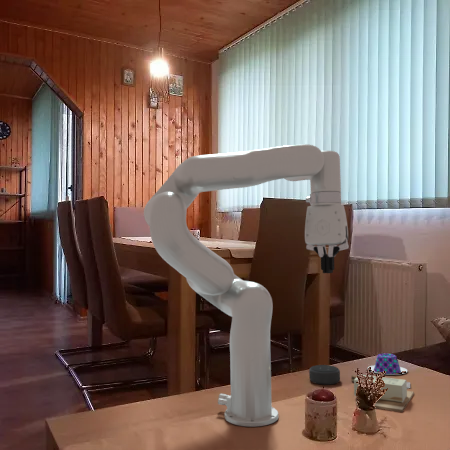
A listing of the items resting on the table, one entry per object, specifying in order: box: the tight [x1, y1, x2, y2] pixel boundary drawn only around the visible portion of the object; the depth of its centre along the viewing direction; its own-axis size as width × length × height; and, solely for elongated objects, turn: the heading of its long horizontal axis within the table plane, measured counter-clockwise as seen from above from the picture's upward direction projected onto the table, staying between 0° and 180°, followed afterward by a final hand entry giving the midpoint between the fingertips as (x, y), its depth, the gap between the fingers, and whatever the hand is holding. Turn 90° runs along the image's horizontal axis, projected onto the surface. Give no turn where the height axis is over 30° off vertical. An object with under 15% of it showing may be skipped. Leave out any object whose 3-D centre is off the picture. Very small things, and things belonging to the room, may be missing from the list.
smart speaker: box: [308, 364, 341, 386], centre depth 140 cm, size 9×9×4 cm
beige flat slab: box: [355, 390, 415, 413], centre depth 122 cm, size 11×16×1 cm
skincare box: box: [353, 374, 408, 403], centre depth 123 cm, size 6×4×12 cm
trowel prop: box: [351, 374, 411, 389], centre depth 136 cm, size 16×5×2 cm, turn 69°
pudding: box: [367, 353, 408, 376], centre depth 150 cm, size 12×12×5 cm
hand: (327, 272), depth 119 cm, fingers closed
